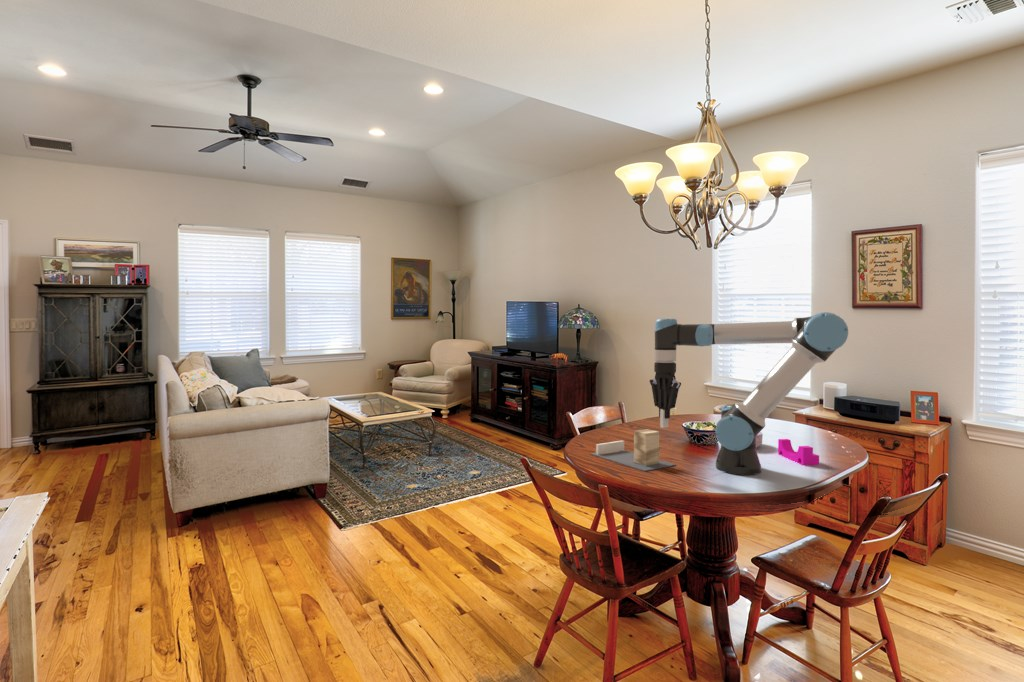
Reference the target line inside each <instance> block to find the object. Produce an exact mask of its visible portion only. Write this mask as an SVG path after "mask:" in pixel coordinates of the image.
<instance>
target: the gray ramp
mask: <svg viewBox="0 0 1024 682" xmlns="http://www.w3.org/2000/svg"><path fill="white" fill-rule="evenodd" d="M589 455H591V456H595V457H597V458H601V459H604V460H606V461H609V462H613V463H615V464H619V465H622V466H626V467H629V468H632V469H636V470H638V471H641V472H650V471H654V470H655V471H656V470H660V469H666V468H670V467H675V466H677V464H676V463H672V462H668V461H666V460H661V459H659V464H655V465H650V466H643V465H640V464H636V463H634V451H630V450H625V449H624V451H619V452H613V453H606V454H600V455H597V454H596V452H591V453H589Z"/></svg>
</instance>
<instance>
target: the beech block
mask: <svg viewBox="0 0 1024 682" xmlns="http://www.w3.org/2000/svg"><path fill="white" fill-rule="evenodd" d="M633 452H634V463H636V464H640V465H643V466H650V465H655V464H659V460H660V431H658V430H653V429H648V428H646V429H639V430H634V431H633Z"/></svg>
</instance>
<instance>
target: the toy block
mask: <svg viewBox="0 0 1024 682" xmlns="http://www.w3.org/2000/svg"><path fill="white" fill-rule="evenodd" d="M777 443H778V444H777V446H778V447H777V455H779V456H782V457H783V458H785V459H787V458H788V459H787V460H789V461H792V462H794V461H795V462H794V463H796V462H797V463H796V464H798V463H799V464H798V465H801V466H803V465H806V466H818V464H819V465H820V455H819V454H816V453H814V447H812V446H809V445H799V446H798V449H797V451H795V450H794V448H793V446H792V442H791V439H789V438H779V439H777Z"/></svg>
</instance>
